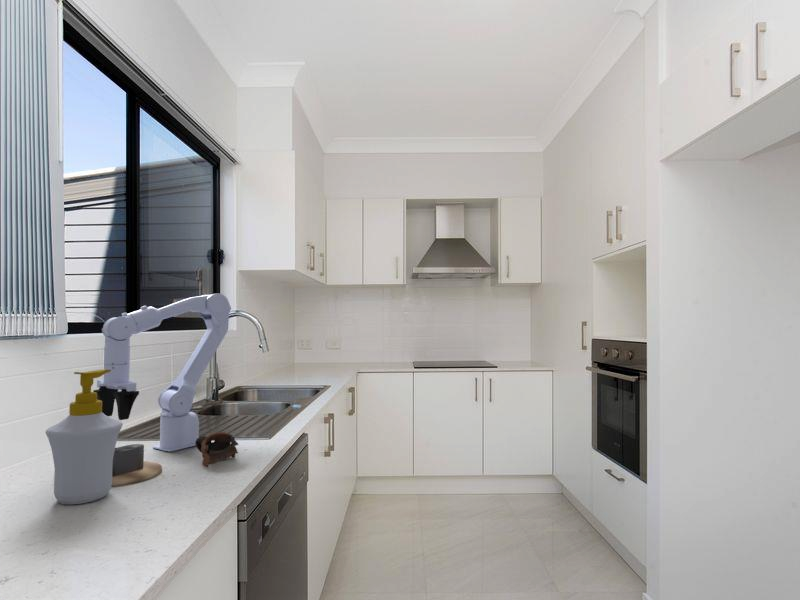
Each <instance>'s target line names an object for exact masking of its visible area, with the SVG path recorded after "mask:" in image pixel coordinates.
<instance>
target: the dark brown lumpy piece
mask: <svg viewBox="0 0 800 600" xmlns="http://www.w3.org/2000/svg"><path fill="white" fill-rule="evenodd" d="M195 443H196V449H198V451H199V452H200V453H201V457H202V462H201V463H202V467H205V468H207V469H208V468H209V466H210V465H214V464H217V463H221V462H223V461H226V460H227V459H229V458H233V459H235V458H236V454H238V453H239V452H238V449H237V447H236V446H239V443H238V442H237V441H236V439H235V437H234V435H232V434H231V433H228V432H224V431H218V432H213V433H211V434H209V435H208V436H206V435H199V437H198V438H197V439H196V442H195Z"/></svg>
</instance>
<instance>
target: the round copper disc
mask: <svg viewBox="0 0 800 600" xmlns="http://www.w3.org/2000/svg"><path fill="white" fill-rule="evenodd" d="M162 469H163V466H162V464H161V463H159V462H155V461H148V460H144V465H143V468H142V469H140V470H137V471H133V472H129V473H125V474H121V475H118V476H114V477H112V485H111V487H120V486H125V485H130V484H131V485H132V484H136V483H140V482H143V481H147V480H150V479H152V478H155V477H157V476H158V475H160V474H161V473H162Z"/></svg>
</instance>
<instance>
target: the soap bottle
mask: <svg viewBox="0 0 800 600" xmlns="http://www.w3.org/2000/svg"><path fill="white" fill-rule="evenodd" d="M110 371H111V370H105V369H104V368H103V369H96V370H89V371H84V372H81V371H80V372H78V371H77V372H76V371H74V373H73V375H80V380H79V381H80V382H79V385H80V386H81V392H77V393H76V394H75V401H73V402H72V401H71V402H69V409H68V410H69V412H68V413H69V414H68V416H67V417H65V418H64V419H63V420H61V421H60V422H58V423H56V424H54V425H51V426H50V427H49V428H47V429H46V430H45V434H46V438H47V439H48V441H49V445H50V448H51V452H52V459H53V465H54V466H53V467H54V477H53V479H54V480H53V494H54V497H55V499H56V501H58V503H59V504H61V505H62V504H63V505H80V504H87V503H90V502H91V503H93V502H94V501H97V500H100V499H103V498H105V497H106V496H108V493H109V492H110V491H111V488H112V486H111V485H112V465H113V456H114V450H115V448H116V444H117V441H118V438H119V434H120V432H121V429H122V427H123V422H122V421H121V420H119V419H114V418H112V417H111V416H106V415H105V414H104V413H102V401H101V400H97V393H96V392H93V391H92V387H93V385H94V379H97V378H100V377H102V376H104V374H105V373H108V372H110Z"/></svg>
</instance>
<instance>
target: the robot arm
mask: <svg viewBox="0 0 800 600" xmlns="http://www.w3.org/2000/svg"><path fill="white" fill-rule="evenodd" d="M231 310H232V307H231V305H230V302H229V299H228V298H227V296H226V295H224V294H223V293H213V294H202V295H198V296H192V297H188V298H184V299H181V300H179V301H176V302H173V303H170V304H168V305H165V306H163V307H160V308H159V307H158V308H156V307H153V306H148V305H143V306H141V307H140V309H138V310H134V311H132V312H129V313H127V312H123V313H121V316H118V317H111V318H109V319H107V320H106V322H104V323H103V327H102V328H101V333H102V334H103V336H104V347H103V348H104V349H103V369H105V370H111V371H110V372H108V373H105V374H104V375H103V379H97V380H96V388H98V389H93V390H92V392H96V393H97V400H101V401H102V413H104V414H105V415H106V416H108V417H112V416H113V413H114V407H115V406H114V405H115V402H116V406H117V416H118V417H117V418H118V421H124V420H129V418H130V416H131V411H132V408H133V406H134V403H135V401H136V400H137V397H138V396H139V395H140V390H137V382H133V381H131V380H130V368H131V367H130V365H131V364H130V363H131V361H130V360H131V358H130V357H131V345H130V344H131V340H130V339H131V337H132V336H133V335H137V334H139V333H142V332H146V331H149V330H152V329H155V328H158V327H159V326H160V325H161V323H162V322H163V320H165V319H169V318H172V317H176V316H179V315H182V314H186V313H189V312H191V313H198V314H199V315H200V316H201V318H202V319H203V320H204V324H205V326H206V331H205V332H204V334H203V336H202V337H201V339H200V340H199V341H198V343H197V346H196V347H195V349H194V350H193V352H192V354H191V355H190V356H189V358H188V360H187V361H186V363H185V365H184V367H183V368H182V370H181V372H180V373H179V374H178V376H177V378H175V379H174V380H173V381H172V382H171V383H170V384H169V386H168V387H167V388H166V389H165V390H164V389H163V390H162V391H161V393H160V394H159V396H158V399H157V402H158V406H159V407H160V409H162V410H161V412H160V416H159V417H160V419H159V420H160V421H159V422H160V424H159V425H160V426H159V444H156V445H153V446H152V448H153V449H156V450H161V451H164V452H175V451H179V450H184V449H187V448H191V447H195V446H196V443H195V442H196V439H197V438H198V437H200V435H199V433H200V420H199V417H198V415H197V414H196V413H195V412H193V411H190V410H191V409H192V407H193V404H194V398H195V395H196V393H197V384H198V383H199V380H200V379H201V377H202V376H203V374H204V373H205V370H206V369H207V367H208V365H209V363H210V362H211V360H212V358H213V357H214V355H215V353H216V352H217V350H218V348H219V346H220V345H221V343H222V341H223V340H224V338H225V336H226V334H227V333H228V330H229V323H230V322H229V320H230V319H229V318H230V317H229V316H230V313H231Z"/></svg>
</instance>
